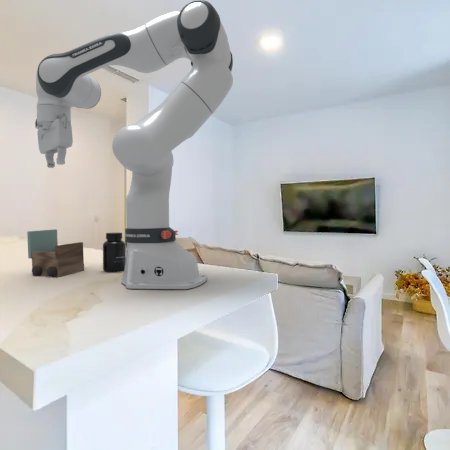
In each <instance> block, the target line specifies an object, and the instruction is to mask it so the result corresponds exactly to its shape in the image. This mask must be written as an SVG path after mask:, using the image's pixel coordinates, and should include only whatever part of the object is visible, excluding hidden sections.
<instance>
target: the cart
mask: <svg viewBox="0 0 450 450" xmlns="http://www.w3.org/2000/svg"><path fill="white" fill-rule="evenodd" d="M84 258H85V257H84V242H83V241H79V242H73V243H65V244H58V245H57V246H55V252H38V251H34V252H32V258H31V274H32V276H34V277H50V278H60V277H64V276H68V275H71V274H76V273H80V272H83V271H84V270H85V262H84V261H85V260H84Z"/></svg>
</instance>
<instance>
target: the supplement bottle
mask: <svg viewBox="0 0 450 450" xmlns="http://www.w3.org/2000/svg"><path fill="white" fill-rule="evenodd" d="M105 239H106V241H104V242H103V243H102V270H103V272H105V273H121V272H124V269H125V261H126V249H127V248H126V244H125V240H122V239H123V232H106V233H105Z"/></svg>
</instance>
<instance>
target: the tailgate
mask: <svg viewBox="0 0 450 450" xmlns="http://www.w3.org/2000/svg"><path fill="white" fill-rule="evenodd" d="M26 235H27V253H28V255H27V258H28V259H30V260H32V252H34V251H38V252H55V246H57V245H59V244H58V243H59V242H58V229H41V230H30V231H29V230H28V231H27V232H26Z"/></svg>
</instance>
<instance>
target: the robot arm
mask: <svg viewBox="0 0 450 450" xmlns="http://www.w3.org/2000/svg"><path fill="white" fill-rule="evenodd" d="M183 58H185V59H188V60H190V65H191V67H192V68H191V70H190V71H189V72H188V73H187V74H186V75H185V76H184V78H183V79H182V80H181V81H179V83H177V85H176V86H175V88H173V90H172V91H170V93H169V94H168V96H166V97H165V99H163V101H162V102H161V103H159V105H158V106H157V107H155V109H152V111H150V112H149V113H148V114H146V115H144V117H142V118H140V119H139V120H138V121H136V122H135V123H133V124H131V125H126V126H123V127H122V128H120V129H119V130H118V131H117V132H116V133H115V135H114V137H113V140H112V144H111V145H112V146H111V147H112V152H113V154H114V156H115V159H116V160H117V161H118V163H120V164H121V165H122V166H123V168H124V169H126V170H128V171H130V172H132V177H131V181H130V182H131V183H130V185H129V186H130V187H129V190H128V191H129V192H128V194H127V195H126V198H125V208H126V210H125V213H126V215H125V216H126V219H125V220H126V221H125V222H126V228H125V229H124V242H125V244H126V261H125V269H124V271H123V273H122V278H121V281H120V282H121V284H122V285H125V287H126V289H135V290H138V289H139V290H144V289H145V290H146V289H147V290H189V289H194V288H196V287H199V286H201V285H203V284H204V283H206V281H207V280H208V276H207V274H205V273H200V271H199V264H198V259H197V258H196V256H195V255H194V254H192V253H191V252H190V251H189V250H187V249H186V248H185V247H183V246H182V244H180V243H179V242H178V241H176V236H178V235H179V231H178V230H174V229H173V228H172V227H170V200H169V199H170V191H171V183H172V176H173V175H172V173H173V166H174V155H173V152H172V151H173V150H174V149H176V148H177V147H178V146H180V145H181V144H182V143H184V142H185V141H186V140H188V139H190V138H192V137H193V136H194V135H195V134H196V133H197V132H198V131H199V130H200V128H201V127H203V125H204V124H205V123H206V122H207V121H208V120H209V118H210V117H211V116H212V115H213V114H214V113H215V112H216V110H217V109H218V108H219V106H221V104H222V103H223V101H224V100H225V98H226V97H227V95H228V94H229V92H230V90H231V88H232V87H233V85H234V78H233V75H232V71H233V64H234V59H233V58H234V57H233V53H232V51H231V48H230V45H229V39H228V35H227V32H226V30H225V27H224V26H223V24H222V21H221V17H220V14H219V13H218V11H217V10H216V8H215V7H214V6H213V5H212V3H210V2H209V1H208V0H192V1H190V2H188V3H186V4H185V5H184V6H183V7H182V8H181V9H180V10H173V11H170V12H168V13H165V14H162V15H159V16H157V17H155V18H152V19H151V20H150V21H148V22H146V23H144V24H142V25H141V26H138V27H136V28H134V29H131V30H128V31H127V30H126V31H124V32H114V33H109V34H106V35H104V36H101V37H98V38H96V39H94V40H92V41H89V42H87V43H85V44H82V45H80V46H78V47H76V48H74V49H71V50H68V51H65V52H61V53H52V54H49V55H47V56H46V57H44V58H43V59H42V60H41V61H40V62H39V64H38V67H37V70H36V75H35V91H36V95H37V103H36V119H35V122H34V125H35V126H34V127H35V129H37V143H38V144H37V145H38V150H39V152H40V154H42V155H44V156H45V159H46V167H47V168H48V169H54V168H55V166H56V165H55V163H56V164H57V165H59V166H60V165H61V166H63V165H65V164H66V161H65V160H66V155H67V149H70V148H71V147H72V146H73V141H74V140H73V130H72V129H73V127H72V118H71V117H72V116H71V115H72V112H71V109H72V108H73V107H74V108H78V109H86V110H87V109H89V110H90V109H93V108H95V107H96V106H97V105H98V103H99V102H100V99H101V96H102V95H101V94H102V89H101V85H100V84H99V83H98V81H97V80H96V79H94V78H93V77H92V76H91V75H89V74H92V73H94V72H96V71H98V70H100V69H102V68H105V67H109V66H119V67H124V68H127V69H130V70H134V71H136V72H139V73H141V74H142V73H143V74H151V73H153V72H157V71H160V70H161V69H164V68H165V67H167V66H168V65H170V64H172V63H174V61H175V62H176V61H177V60H178V59H183ZM56 153H57V156H56V162H55V159H54V157H55V154H56Z"/></svg>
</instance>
